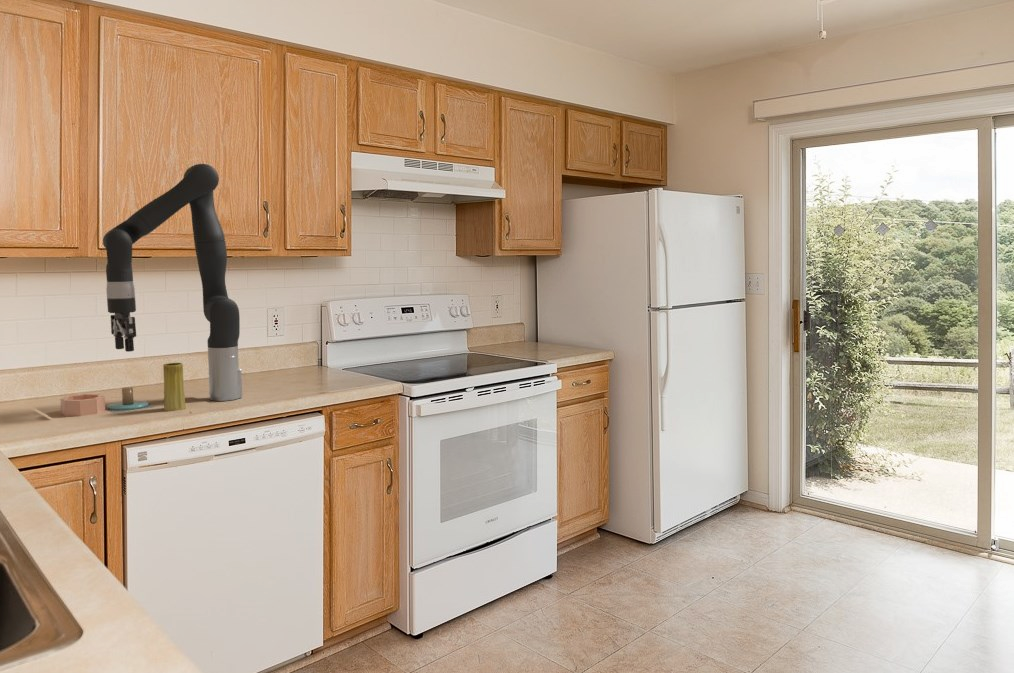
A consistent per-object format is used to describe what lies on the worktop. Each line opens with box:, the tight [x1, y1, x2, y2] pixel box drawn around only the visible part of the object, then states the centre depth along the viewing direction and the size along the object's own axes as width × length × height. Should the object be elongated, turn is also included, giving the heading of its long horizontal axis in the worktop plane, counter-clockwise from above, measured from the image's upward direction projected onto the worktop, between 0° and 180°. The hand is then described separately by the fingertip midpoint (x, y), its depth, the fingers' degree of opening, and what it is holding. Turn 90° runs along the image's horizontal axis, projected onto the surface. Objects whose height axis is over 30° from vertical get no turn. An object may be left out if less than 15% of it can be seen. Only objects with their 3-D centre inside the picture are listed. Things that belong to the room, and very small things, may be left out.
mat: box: [105, 403, 156, 413], centre depth 223 cm, size 12×12×1 cm
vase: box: [162, 362, 187, 412], centre depth 220 cm, size 6×6×14 cm
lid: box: [107, 386, 149, 411], centre depth 223 cm, size 11×11×6 cm
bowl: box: [60, 393, 106, 417], centre depth 216 cm, size 10×10×5 cm
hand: (124, 350), depth 221 cm, fingers open, 8 cm apart
